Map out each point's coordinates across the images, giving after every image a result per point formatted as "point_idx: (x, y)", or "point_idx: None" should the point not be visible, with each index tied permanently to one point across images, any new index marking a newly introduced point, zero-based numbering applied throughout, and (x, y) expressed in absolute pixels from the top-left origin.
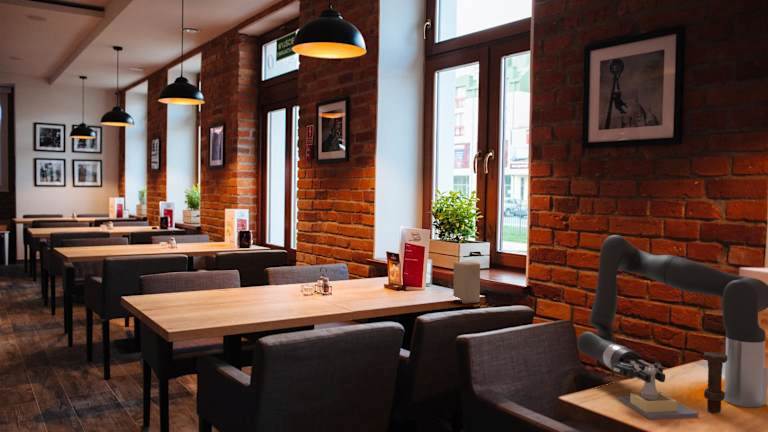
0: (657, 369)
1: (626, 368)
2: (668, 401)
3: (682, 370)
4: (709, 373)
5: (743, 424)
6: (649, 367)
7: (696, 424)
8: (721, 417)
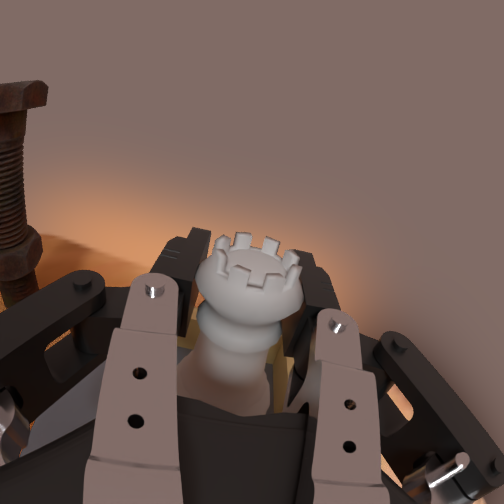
0: (157, 273)
1: (430, 365)
2: (195, 308)
3: None
4: (16, 169)
5: (65, 243)
6: (244, 274)
7: None
8: (54, 277)
